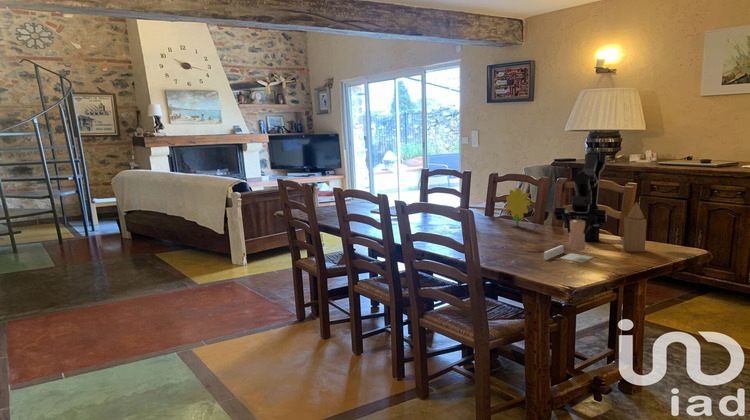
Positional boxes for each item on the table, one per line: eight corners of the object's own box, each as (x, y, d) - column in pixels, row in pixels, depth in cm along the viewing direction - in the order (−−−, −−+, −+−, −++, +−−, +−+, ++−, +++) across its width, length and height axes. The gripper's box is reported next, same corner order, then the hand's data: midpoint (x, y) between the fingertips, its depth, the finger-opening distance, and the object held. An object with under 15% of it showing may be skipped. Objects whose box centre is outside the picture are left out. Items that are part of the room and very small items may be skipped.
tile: (570, 254, 195) (570, 253, 195) (593, 257, 189) (593, 256, 189) (559, 258, 189) (559, 257, 189) (582, 262, 183) (582, 261, 183)
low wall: (560, 252, 199) (560, 245, 198) (563, 252, 198) (563, 245, 197) (543, 259, 189) (544, 251, 189) (546, 259, 188) (546, 252, 188)
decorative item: (530, 227, 247) (530, 188, 244) (528, 228, 246) (528, 189, 243) (507, 223, 260) (507, 186, 257) (505, 223, 260) (506, 186, 256)
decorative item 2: (645, 252, 194) (648, 202, 191) (627, 252, 195) (629, 202, 192) (639, 248, 200) (642, 200, 197) (622, 248, 202) (624, 200, 198)
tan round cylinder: (577, 246, 192) (578, 219, 190) (587, 249, 187) (588, 221, 185) (566, 248, 190) (566, 220, 188) (576, 251, 185) (577, 222, 183)
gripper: (555, 187, 193) (548, 219, 186) (607, 188, 183) (601, 222, 176) (559, 203, 201) (552, 235, 193) (608, 205, 191) (603, 239, 183)
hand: (576, 232), depth 186 cm, fingers closed on tan round cylinder, 5 cm apart
